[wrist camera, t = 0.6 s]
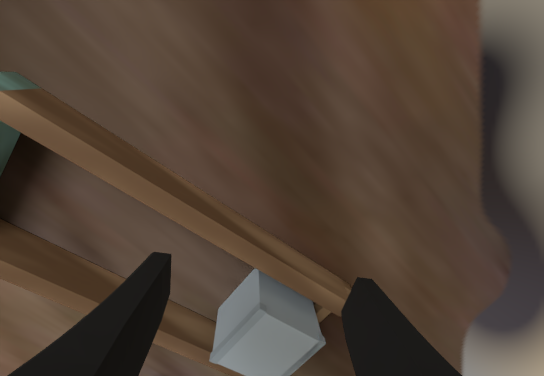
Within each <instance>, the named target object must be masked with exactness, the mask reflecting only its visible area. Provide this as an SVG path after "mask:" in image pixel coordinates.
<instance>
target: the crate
mask: <svg viewBox="0 0 544 376" xmlns="http://www.w3.org/2000/svg"><path fill="white" fill-rule="evenodd" d="M325 344H326V342H325V338H324V336H322V334H321V331H320V327H319V323H318V320H317V316H316V312H315V309H314V305H313V301H312V300H310V299H308V298H306V297H305V296H303V295H301V294H299V293H298V292H296V291H294V290H292V289H291V288H289V287H287V286H286V285H284V284H282V283H280V282H279V281H277V280H275V279H273V278H272V277H270V276H268V275H267V274H265V273H263V272H261V271H260V270H258V269H256V268H255V269H254V270H253V271H252V272H251V273H250V274H249V275H248V276H247V278H246V279H245V280H244V281H243V282H242V283H241V284H240V285H239V286H238V288H237V289H236V290H235V291H234V292H233V293H232V294H231V295H230V296H229V298H228V299H227V300H226V301H225V302H224V303H223V304H222V305H221V306H220V308H219V309H218V316H217V323H216V330H215V337H214V344H213V351H212V352H211V353H210V359H209V361H210V362H212V363H214V364H219V365H222V366H224V367H226V368H229V369H231V370H233V371H236V372H238V373H240V374H243V375H245V376H290V375H291V374H292V373H294V372H295V371H296V370H297V369H298V368H299V367H300V366H301V365H303V364H304V363H305V362H306V361H307V360H308V359H309V358H310V357H312V356H313V355H314V354H315V353H316V352H317V351H318V350H319V349H321V348H322V347H323V346H324V345H325Z"/></svg>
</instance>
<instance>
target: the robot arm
mask: <svg viewBox="0 0 544 376" xmlns="http://www.w3.org/2000/svg"><path fill="white" fill-rule="evenodd" d="M170 279H171V254H167V253H159V252H153V253H152V254H150V255H149V257H148V258H147V259H146V260H145V261H144V262H143V263H142V264H141V265H140V266H139V267H138V268H137V269H136V270H135V271H134V272H133V273H132V274H131V275H130V276H129V277H128V278H127V279H126V280H125V281H124V282H123V283H122V284H121V285H120V286H119V287H118V288H117V289H116V290H114V291H113V292H112V293H111V294H110V295H109V296H108V297H107V298H106V299H105V300H104V301H103V302H101V303H100V304H99V305H98V306H97V307H96V308H94V309H93V310H92V311H91V312H90V313H89V314H88V315H86V316H85V317H84V318H83V319H82V320H81V321H79V322H78V323H77V324H76V325H75V326H73V327H72V328H71V329H70V330H68V331H67V332H66V333H65V334H63V335H62V336H61V337H60V338H58V339H57V340H56V341H54V342H53V343H52V344H50V345H49V346H48V347H46V348H45V349H44V350H42V351H41V352H40V353H38V354H37V355H36V356H34V357H33V358H32V359H30V360H29V361H27V362H26V363H25V364H23V365H22V366H20V367H19V368H18V369H16V370H15V371H13V372H12V373H11V374H9V375H8V376H138V375H139V373H140V370H141V368H142V366H143V363H144V361H145V359H146V356H147V354H148V352H149V349H150V347H151V345H152V342H153V340H154V338H155V335H156V333H157V330H158V328H159V326H160V323H161V321H162V318H163V314H164V311H165V308H166V305H167V301H168V298H169V295H170ZM341 314H342V321H343V327H344V333H345V338H346V342H347V346H348V349H349V353H350V356H351V360H352V363H353V367H354V370H355V373H356V376H462V375H461V374H460V373H459V372H457V371H456V370H455V369H454V368H453V367H452V366H451V365H450V364H449V363H448V362H447V361H446V360H445V359H444V358H443V357H442V356H441V355H440V354H439V353H438V352H437V351H436V350H435V349H434V348H433V347H432V345H431V344H430V343H429V342H428V341H427V340H426V339H425V338H424V337H423V336H422V335H421V334H420V333H419V332H418V331H417V329H416V328H415V327H414V326H413V325H412V324H411V323H410V322H409V321H408V319H407V318H406V317H405V316H404V315H403V314H402V313H401V312H400V310H399V309H398V308H397V307H396V306H395V305H394V304H393V302H392V301H391V300H390V299H389V298H388V297H387V296H386V294H385V293H384V292H383V291H382V290H381V289H380V288H379V286H378V285H377V284H376V283H375V282H374V281H373V280H372V279H367V278H359V277H357V279H356V281H355V283H354V285H353V287H352V289H351V292H350V294H349V296H348V298H347V300H346V302H345V304H344V306H343V308H342V310H341Z"/></svg>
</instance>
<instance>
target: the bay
mask: <svg viewBox="0 0 544 376" xmlns="http://www.w3.org/2000/svg"><path fill="white" fill-rule="evenodd" d="M21 133H23V134H24V135H26V136H28V137H30V138H31V139H33V140H35V141H37V142H38V143H40V144H42V145H43V146H45V147H47V148H49V149H50V150H52V151H54V152H56V153H57V154H59V155H61V156H62V157H64V158H66V159H68V160H69V161H71V162H73V163H75V164H76V165H78V166H80V167H81V168H83V169H85V170H87V171H88V172H90V173H92V174H94V175H95V176H97V177H99V178H101V179H102V180H104V181H106V182H107V183H109V184H111V185H113V186H114V187H116V188H118V189H120V190H121V191H123V192H125V193H126V194H128V195H130V196H132V197H133V198H135V199H137V200H139V201H140V202H142V203H144V204H145V205H147V206H149V207H151V208H152V209H154V210H156V211H158V212H159V213H161V214H163V215H165V216H166V217H168V218H170V219H171V220H173V221H175V222H177V223H178V224H180V225H182V226H184V227H185V228H187V229H189V230H190V231H192V232H194V233H196V234H197V235H199V236H201V237H203V238H204V239H206V240H208V241H209V242H211V243H213V244H215V245H216V246H218V247H220V248H222V249H223V250H225V251H227V252H229V253H230V254H232V255H234V256H235V257H237V258H239V259H241V260H242V261H244V262H246V263H248V264H249V265H251V266H253V267H254V268H256V269H258V270H260V271H261V272H263V273H265V274H267V275H268V276H270V277H272V278H273V279H275V280H277V281H279V282H280V283H282V284H284V285H286V286H287V287H289V288H291V289H292V290H294V291H296V292H298V293H299V294H301V295H303V296H305V297H306V298H308V299H310V300H312V301H313V302H315V304H314V309H315V312H316V316H317V320H318V323H320V322H321V321H322V320H323V319H324V318H325V317H326V316H327V315H329V314H330V313H331V312H332V313H334V314H336V315H337V316H339V317H340V316H341V315H342V314H341V310H342V308H343V306H344V304H345V302H346V300H347V298H348V296H349V294H350V292H351V287H350V285H349V284H348V283H347V282H345V281H344V280H342V279H340V278H339V277H337V276H336V275H334V274H333V273H331V272H329V271H328V270H326V269H325V268H323V267H322V266H320V265H318V264H317V263H315V262H314V261H312V260H311V259H309V258H307V257H306V256H304V255H303V254H301V253H300V252H298V251H296V250H295V249H293V248H292V247H290V246H289V245H287V244H285V243H284V242H282V241H281V240H279V239H278V238H276V237H274V236H273V235H271V234H270V233H268V232H267V231H265V230H263V229H262V228H260V227H259V226H257V225H256V224H254V223H252V222H251V221H249V220H248V219H246V218H245V217H243V216H241V215H240V214H238V213H237V212H235V211H234V210H232V209H230V208H229V207H227V206H226V205H224V204H223V203H221V202H219V201H218V200H216V199H215V198H213V197H212V196H210V195H208V194H207V193H205V192H204V191H202V190H201V189H199V188H197V187H196V186H194V185H193V184H191V183H190V182H188V181H186V180H185V179H183V178H182V177H180V176H179V175H177V174H175V173H174V172H172V171H171V170H169V169H168V168H166V167H164V166H163V165H161V164H160V163H158V162H157V161H155V160H153V159H152V158H150V157H149V156H147V155H146V154H144V153H142V152H141V151H139V150H138V149H136V148H135V147H133V146H131V145H130V144H128V143H127V142H125V141H123V140H122V139H120V138H119V137H117V136H116V135H114V134H112V133H111V132H109V131H108V130H106V129H105V128H103V127H101V126H100V125H98V124H97V123H95V122H94V121H92V120H90V119H89V118H87V117H86V116H84V115H83V114H81V113H79V112H78V111H76V110H75V109H73V108H72V107H70V106H68V105H67V104H65V103H64V102H62V101H61V100H59V99H57V98H56V97H54V96H53V95H51V94H50V93H48V92H46V91H45V90H43V89H42V88H40V87H39V86H37V85H35V84H34V83H32V82H31V81H29V80H28V79H26V78H24V77H23V76H21V75H20V74H18V73H17V72H0V177H1V174H2V172H3V170H4V168H5V166H6V164H7V162H8V159H9V157H10V155H11V153H12V151H13V149H14V147H15V144H16V142H17V140H18V138H19V136H20V134H21ZM0 279H3V280H5V281H7V282H10V283H12V284H14V285H17V286H19V287H22V288H24V289H26V290H29V291H31V292H33V293H36V294H38V295H41V296H43V297H45V298H48V299H50V300H52V301H55V302H57V303H59V304H62V305H64V306H67V307H69V308H71V309H74V310H76V311H78V312H81V313H83V314H86V315H88V314H89V313H90V312H91V311H92V310H93V309H94V308H96V307H97V306H98V305H99V304H100V303H101V302H103V301H104V300H105V299H106V298H107V297H108V296H109V295H110V294H111V293H112V292H113V291H114V290H116V289H117V288H118V287H119V286H120V285H121V284H122V283H123V282H124V281H125V280H126V279H125V278H123V277H120V276H118V275H116V274H114V273H112V272H110V271H108V270H106V269H104V268H102V267H100V266H98V265H95V264H93V263H91V262H89V261H87V260H85V259H83V258H81V257H79V256H77V255H75V254H73V253H71V252H68V251H66V250H64V249H62V248H60V247H58V246H56V245H54V244H52V243H50V242H48V241H46V240H43V239H41V238H39V237H37V236H35V235H33V234H31V233H29V232H27V231H25V230H23V229H21V228H19V227H16V226H14V225H12V224H10V223H8V222H6V221H4V220H2V219H0ZM215 330H216V322H214V321H212V320H210V319H208V318H206V317H204V316H202V315H199V314H197V313H195V312H193V311H191V310H189V309H187V308H185V307H183V306H181V305H179V304H177V303H174V302H172V301H170V300H168V301H167V305H166V308H165V311H164V314H163V318H162V321H161V323H160V326H159V328H158V330H157V333H156V335H155V338H154V340H153V342H152V343H154V344H157V345H159V346H161V347H164V348H166V349H169V350H171V351H173V352H176V353H178V354H180V355H183V356H185V357H188V358H190V359H192V360H195V361H197V362H199V363H202V364H204V365H206V366H209V367H211V368H214V369H216V370H218V371H221V372H223V373H225V374H228V375H230V376H245V375H243V374H240V373H238V372H236V371H233V370H231V369H229V368H226V367H224V366H222V365H219V364H214V363H212V362H210V361H209V359H210V353H211V352H212V351H213V344H214V337H215Z"/></svg>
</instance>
